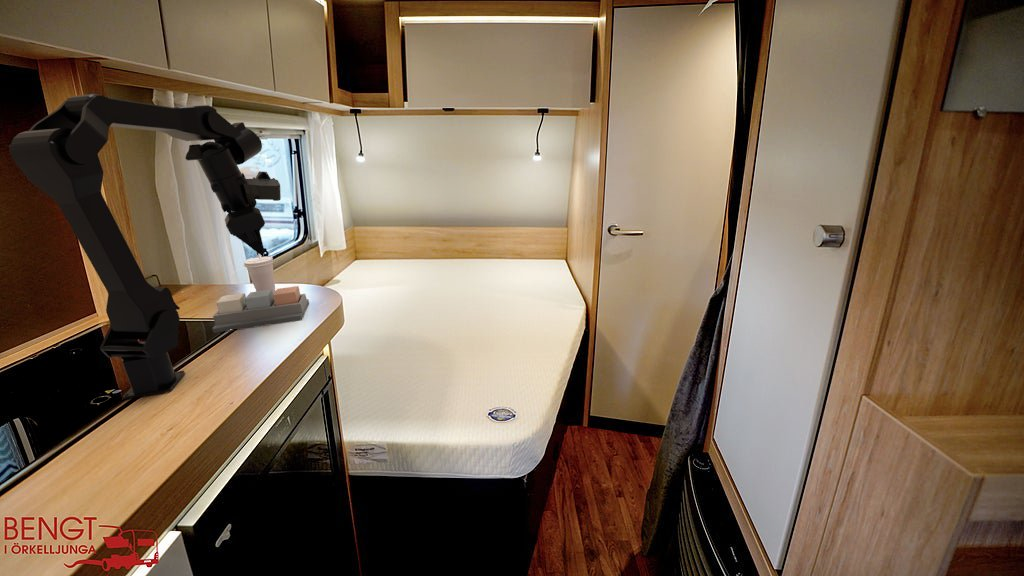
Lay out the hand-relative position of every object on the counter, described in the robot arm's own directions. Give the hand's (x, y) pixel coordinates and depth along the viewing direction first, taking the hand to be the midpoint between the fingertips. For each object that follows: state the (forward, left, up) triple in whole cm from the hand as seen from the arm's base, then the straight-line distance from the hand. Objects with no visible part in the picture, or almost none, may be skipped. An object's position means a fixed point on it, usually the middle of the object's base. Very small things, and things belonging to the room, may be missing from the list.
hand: (259, 244), depth 99 cm
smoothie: (+14, +5, -16) cm, 22 cm away
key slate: (-1, +2, -13) cm, 13 cm away
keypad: (-1, +2, -16) cm, 16 cm away
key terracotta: (-1, -3, -13) cm, 13 cm away
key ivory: (-1, +8, -13) cm, 15 cm away
